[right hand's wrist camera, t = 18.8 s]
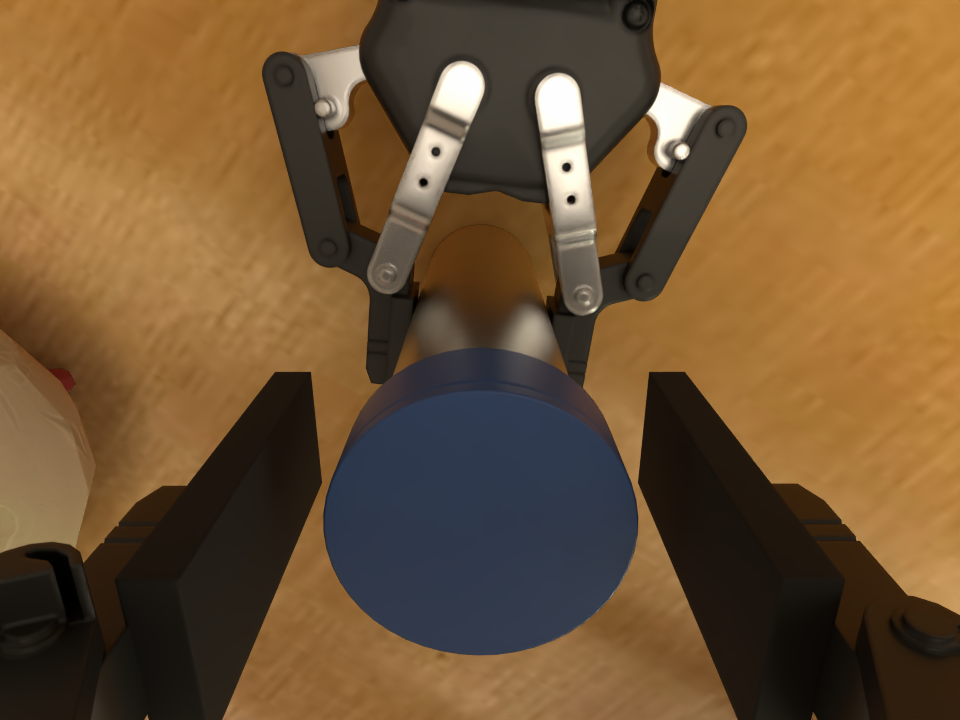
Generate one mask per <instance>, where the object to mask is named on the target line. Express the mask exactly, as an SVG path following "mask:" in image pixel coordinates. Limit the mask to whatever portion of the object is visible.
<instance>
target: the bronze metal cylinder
mask: <svg viewBox="0 0 960 720" xmlns="http://www.w3.org/2000/svg"><path fill="white" fill-rule="evenodd" d="M465 348H494V349H504V350H509V351H514V352H519V353H522V354H525V355H528V356H531V357H534V358H537V359H540V360H542V361H544V362H546V363H548V364H550V365H552V366H554V367H556V368H557V369H559V370H560V371H562V372H563V373H565V374H566V375H568V373H567V370H566V367H565V364H564V361H563V358H562V355H561V352H560V349H559V346H558V343H557V340H556V337H555V334H554V331H553V328H552V325H551V322H550V319H549V316H548V313H547V310H546V307H545V304H544V300H543V297H542V294H541V291H540V288H539V285H538V282H537V279H536V276H535V273H534V270H533V267H532V264H531V261H530V258H529V256H528V254H527V252H526V250H525V249H524V247H523V246H522V244H521V243H520V242H519V241H518V240H517V239H516V238H515V237H514V236H512V235H511V234H510V233H508V232H506V231H504V230H503V229H500V228H497V227H494V226H489V225H472V226H467V227H464V228H461V229H459V230H457V231H455V232H453V233H452V234H450V235H449V236H447V237H446V238H445V239H444V240H443V241H442V242H441V243H440V244H439V246H438V247H437V249H436V250H435V252H434V254H433V256H432V259H431V262H430V265H429V268H428V271H427V274H426V277H425V280H424V283H423V286H422V289H421V292H420V295H419V298H418V301H417V304H416V307H415V310H414V313H413V316H412V319H411V322H410V325H409V329H408V332H407V335H406V338H405V341H404V344H403V347H402V350H401V353H400V356H399V359H398V362H397V365H396V368H395V371H394V374H393V375H395V374H396V373H398V372H399V371H401V370H403V369H404V368H406V367H408V366H409V365H411V364H413V363H415V362H418V361H420V360H422V359H424V358H427V357H430V356H433V355H436V354H439V353H443V352H447V351H453V350H458V349H465Z"/></svg>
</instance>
